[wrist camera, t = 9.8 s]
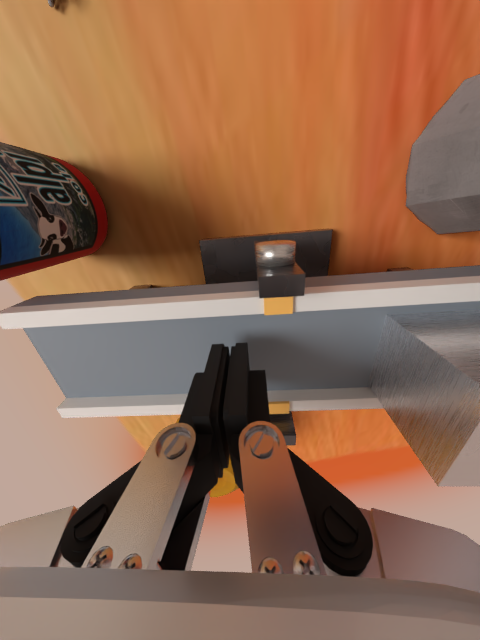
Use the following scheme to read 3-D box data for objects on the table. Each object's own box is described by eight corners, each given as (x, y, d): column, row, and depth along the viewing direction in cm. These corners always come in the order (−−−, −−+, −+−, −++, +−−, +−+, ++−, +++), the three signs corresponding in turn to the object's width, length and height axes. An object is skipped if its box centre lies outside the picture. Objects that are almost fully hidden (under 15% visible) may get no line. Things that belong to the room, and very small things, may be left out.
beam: (36, 296, 12) (-12, 315, 10) (547, 260, 10) (629, 274, 8) (87, 389, 15) (60, 420, 13) (483, 374, 13) (529, 406, 11)
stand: (119, 239, 18) (-43, 275, 8) (422, 213, 16) (698, 219, 6) (154, 349, 23) (82, 455, 13) (388, 339, 21) (509, 452, 11)
